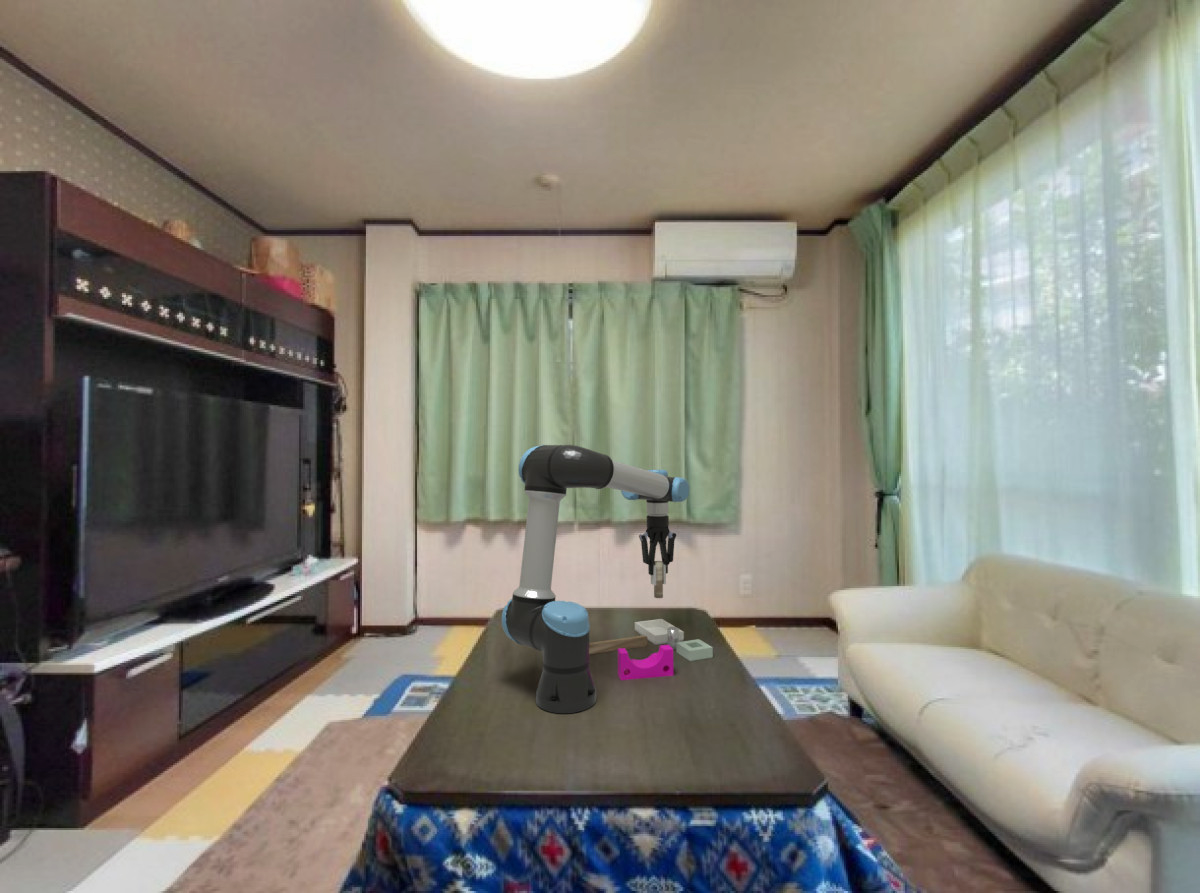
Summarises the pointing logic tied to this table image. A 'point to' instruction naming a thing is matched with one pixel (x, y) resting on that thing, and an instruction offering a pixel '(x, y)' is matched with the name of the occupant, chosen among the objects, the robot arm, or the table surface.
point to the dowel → (658, 580)
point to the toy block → (646, 664)
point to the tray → (656, 630)
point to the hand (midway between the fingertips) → (658, 583)
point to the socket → (694, 650)
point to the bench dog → (672, 637)
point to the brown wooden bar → (617, 644)
